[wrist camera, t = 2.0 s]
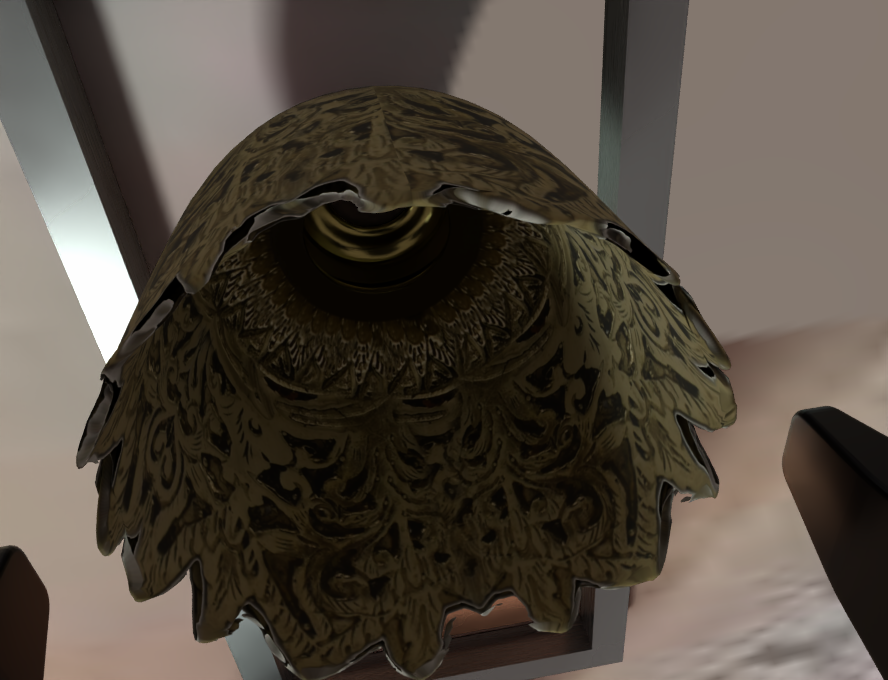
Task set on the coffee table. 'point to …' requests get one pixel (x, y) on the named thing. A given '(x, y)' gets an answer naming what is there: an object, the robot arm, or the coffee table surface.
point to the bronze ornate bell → (399, 389)
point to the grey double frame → (126, 275)
